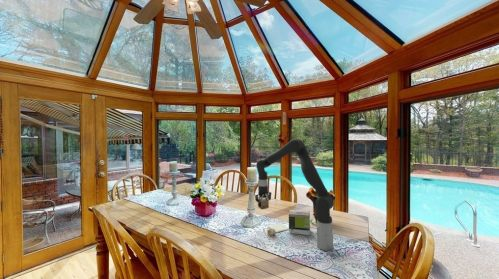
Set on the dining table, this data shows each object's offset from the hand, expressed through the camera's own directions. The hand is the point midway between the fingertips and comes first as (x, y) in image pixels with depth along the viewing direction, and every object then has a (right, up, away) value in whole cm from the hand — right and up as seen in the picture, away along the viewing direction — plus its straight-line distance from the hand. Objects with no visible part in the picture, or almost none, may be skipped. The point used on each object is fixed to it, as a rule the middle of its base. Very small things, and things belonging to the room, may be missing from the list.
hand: (263, 206), depth 177 cm
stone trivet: (+12, -17, 0) cm, 21 cm away
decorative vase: (+48, -17, +11) cm, 52 cm away
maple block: (+5, -18, -11) cm, 22 cm away
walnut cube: (0, -1, 0) cm, 1 cm away
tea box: (+27, -18, -6) cm, 33 cm away
